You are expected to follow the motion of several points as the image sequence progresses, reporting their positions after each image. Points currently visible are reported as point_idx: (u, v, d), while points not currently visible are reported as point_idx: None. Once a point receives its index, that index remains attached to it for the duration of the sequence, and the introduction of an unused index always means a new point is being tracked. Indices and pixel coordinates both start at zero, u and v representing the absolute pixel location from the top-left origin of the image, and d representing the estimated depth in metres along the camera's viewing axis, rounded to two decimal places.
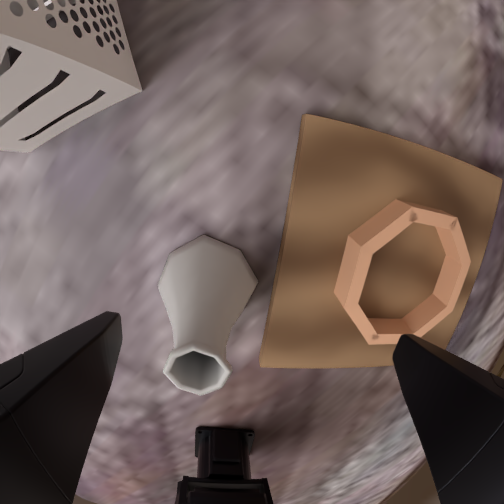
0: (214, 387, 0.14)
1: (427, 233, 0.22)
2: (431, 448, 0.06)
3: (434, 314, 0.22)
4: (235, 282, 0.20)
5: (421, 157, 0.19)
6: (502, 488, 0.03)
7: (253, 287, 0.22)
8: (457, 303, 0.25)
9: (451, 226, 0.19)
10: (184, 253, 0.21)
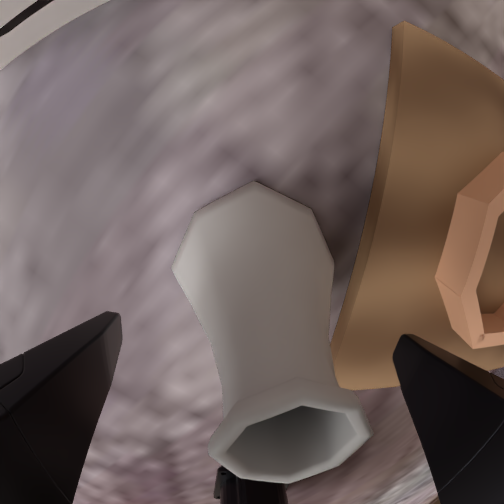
0: (323, 467, 0.05)
1: None
2: (431, 448, 0.06)
3: None
4: (317, 256, 0.11)
5: None
6: (502, 488, 0.03)
7: (332, 269, 0.13)
8: None
9: None
10: (223, 209, 0.12)
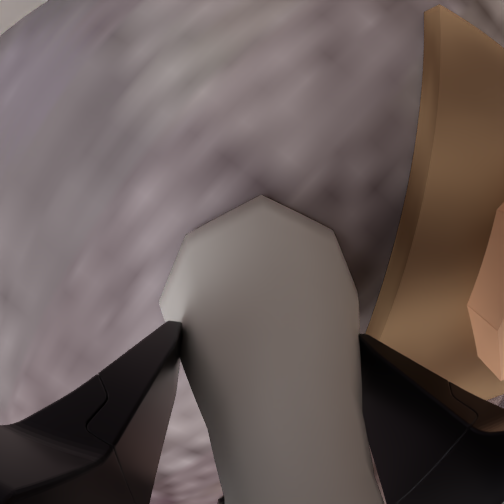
0: None
1: None
2: (382, 460, 0.06)
3: None
4: (345, 297, 0.08)
5: None
6: None
7: (358, 304, 0.10)
8: None
9: None
10: (222, 233, 0.09)
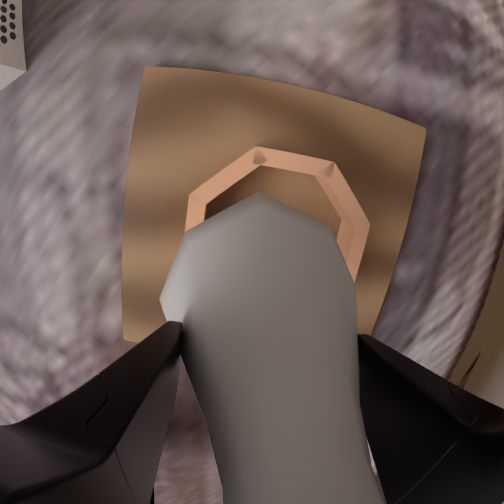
0: None
1: (306, 189, 0.19)
2: (382, 461, 0.06)
3: None
4: (341, 290, 0.09)
5: (288, 97, 0.17)
6: None
7: (355, 299, 0.11)
8: (372, 287, 0.22)
9: (326, 173, 0.17)
10: (220, 229, 0.09)
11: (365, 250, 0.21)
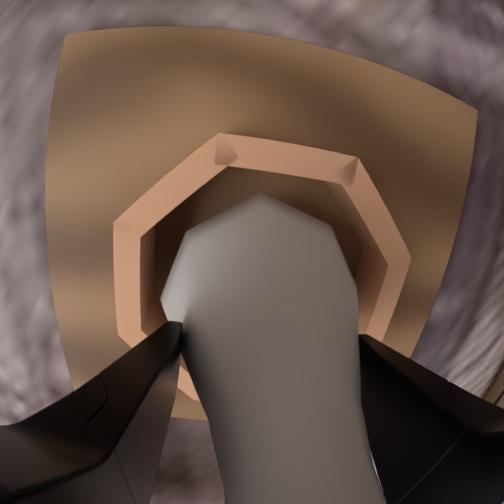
0: None
1: (311, 201, 0.12)
2: (382, 460, 0.06)
3: None
4: (343, 290, 0.09)
5: (276, 56, 0.10)
6: None
7: (356, 298, 0.11)
8: (402, 333, 0.15)
9: (343, 176, 0.10)
10: (221, 229, 0.10)
11: None
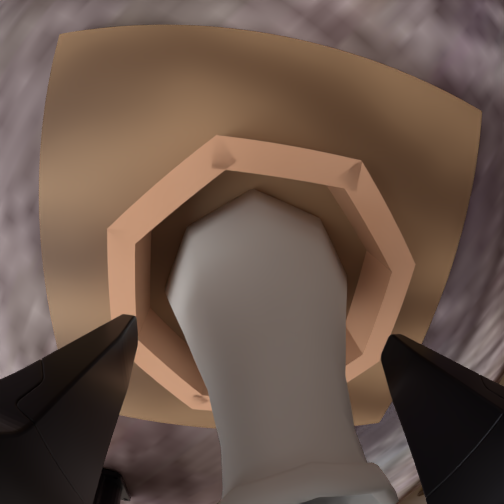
0: None
1: (312, 205, 0.12)
2: (419, 451, 0.06)
3: None
4: (329, 276, 0.10)
5: (276, 55, 0.10)
6: (491, 495, 0.03)
7: (345, 285, 0.12)
8: None
9: (346, 180, 0.09)
10: (218, 224, 0.11)
11: None
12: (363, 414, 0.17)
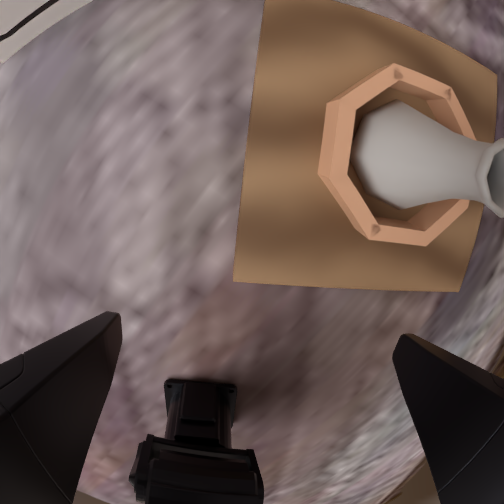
0: None
1: (422, 113, 0.17)
2: (431, 448, 0.06)
3: (446, 209, 0.18)
4: None
5: (399, 32, 0.15)
6: (502, 488, 0.03)
7: None
8: (471, 212, 0.20)
9: (446, 95, 0.14)
10: (388, 111, 0.16)
11: None
12: (450, 279, 0.22)
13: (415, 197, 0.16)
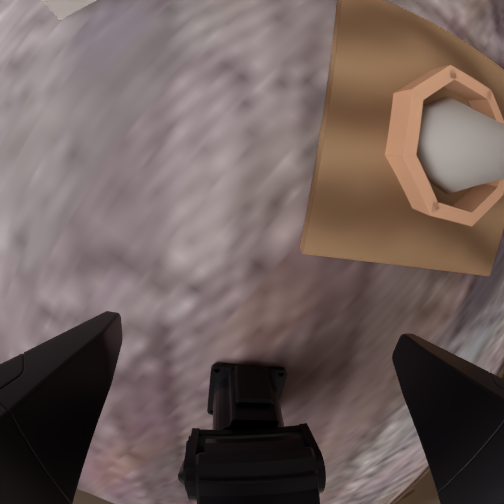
0: None
1: None
2: (430, 448, 0.06)
3: (487, 195, 0.18)
4: None
5: (447, 40, 0.16)
6: (502, 488, 0.03)
7: None
8: (501, 202, 0.21)
9: (487, 96, 0.15)
10: (443, 105, 0.16)
11: None
12: (483, 263, 0.22)
13: (468, 180, 0.16)
